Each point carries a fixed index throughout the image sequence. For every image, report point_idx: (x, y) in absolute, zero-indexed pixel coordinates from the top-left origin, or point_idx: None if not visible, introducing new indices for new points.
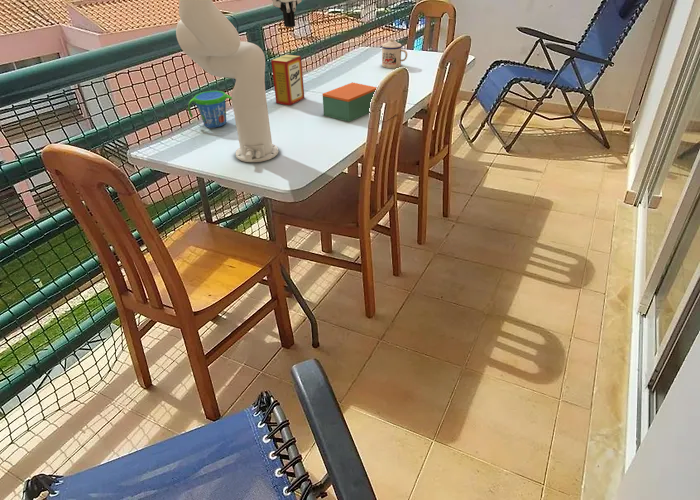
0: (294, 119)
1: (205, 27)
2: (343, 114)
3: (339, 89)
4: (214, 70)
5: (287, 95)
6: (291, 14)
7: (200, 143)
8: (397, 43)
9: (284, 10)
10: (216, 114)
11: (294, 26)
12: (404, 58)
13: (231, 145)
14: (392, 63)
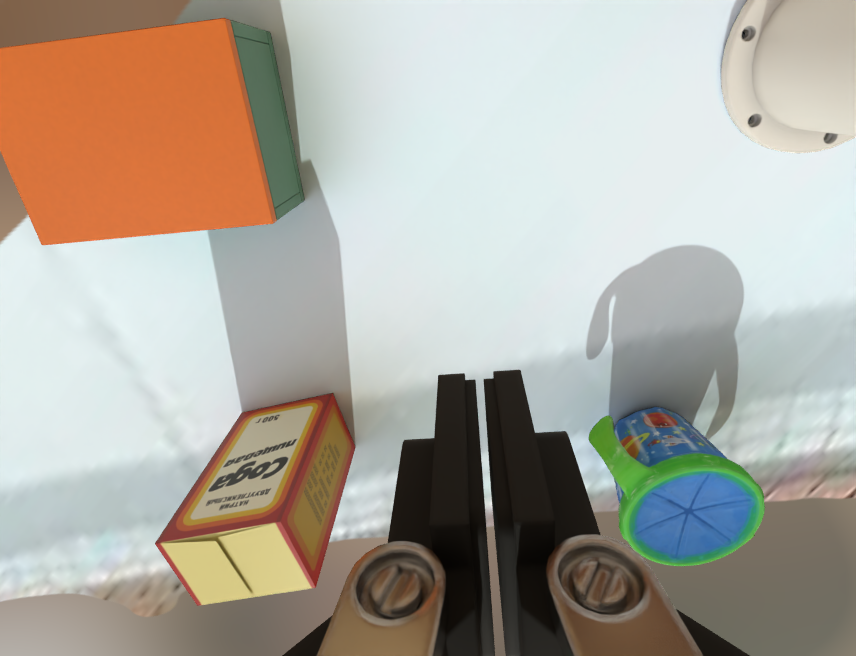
0: (423, 261)
1: None
2: (267, 68)
3: (162, 206)
4: None
5: (326, 423)
6: (519, 492)
7: (820, 335)
8: None
9: (689, 627)
10: (691, 433)
11: (449, 377)
12: None
13: (783, 228)
14: None
